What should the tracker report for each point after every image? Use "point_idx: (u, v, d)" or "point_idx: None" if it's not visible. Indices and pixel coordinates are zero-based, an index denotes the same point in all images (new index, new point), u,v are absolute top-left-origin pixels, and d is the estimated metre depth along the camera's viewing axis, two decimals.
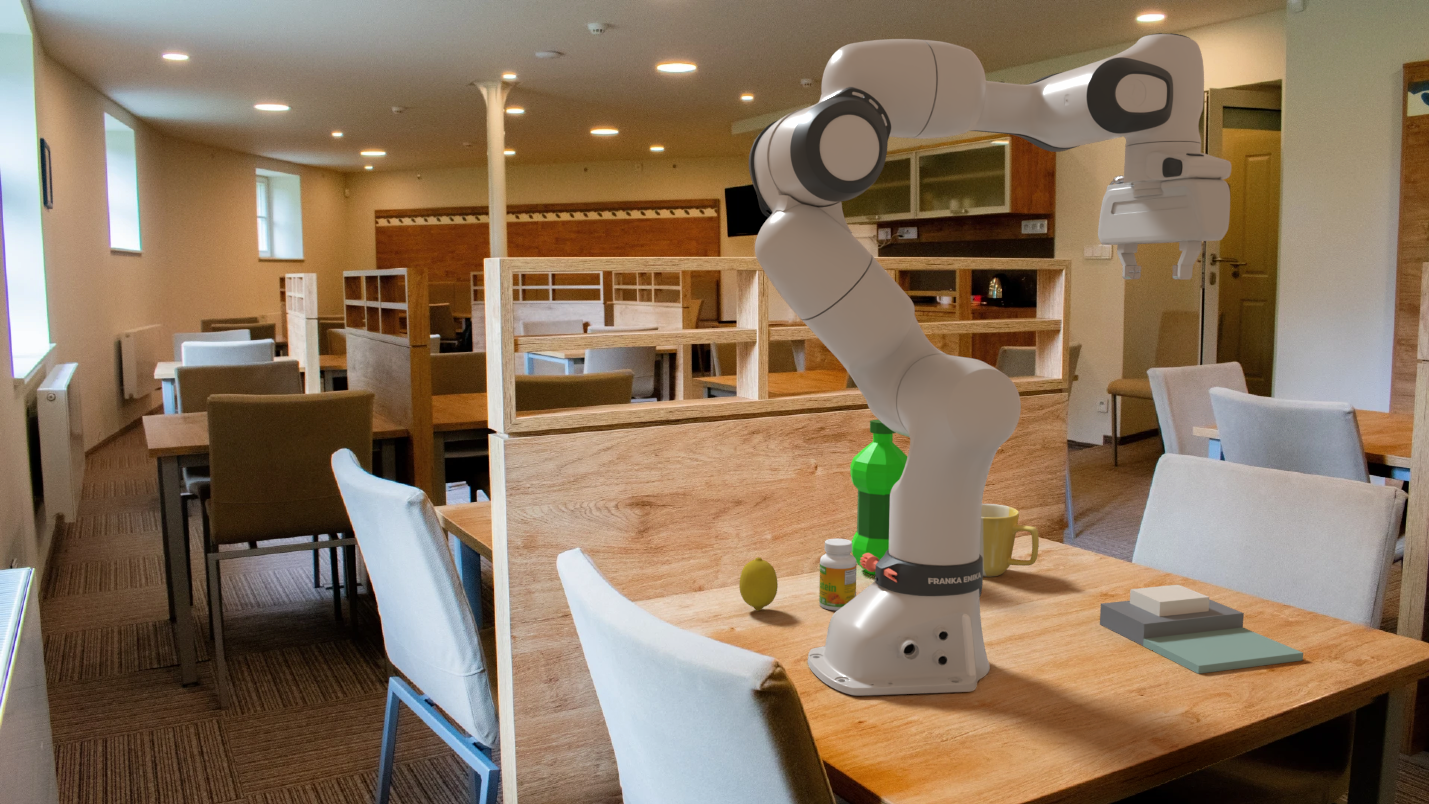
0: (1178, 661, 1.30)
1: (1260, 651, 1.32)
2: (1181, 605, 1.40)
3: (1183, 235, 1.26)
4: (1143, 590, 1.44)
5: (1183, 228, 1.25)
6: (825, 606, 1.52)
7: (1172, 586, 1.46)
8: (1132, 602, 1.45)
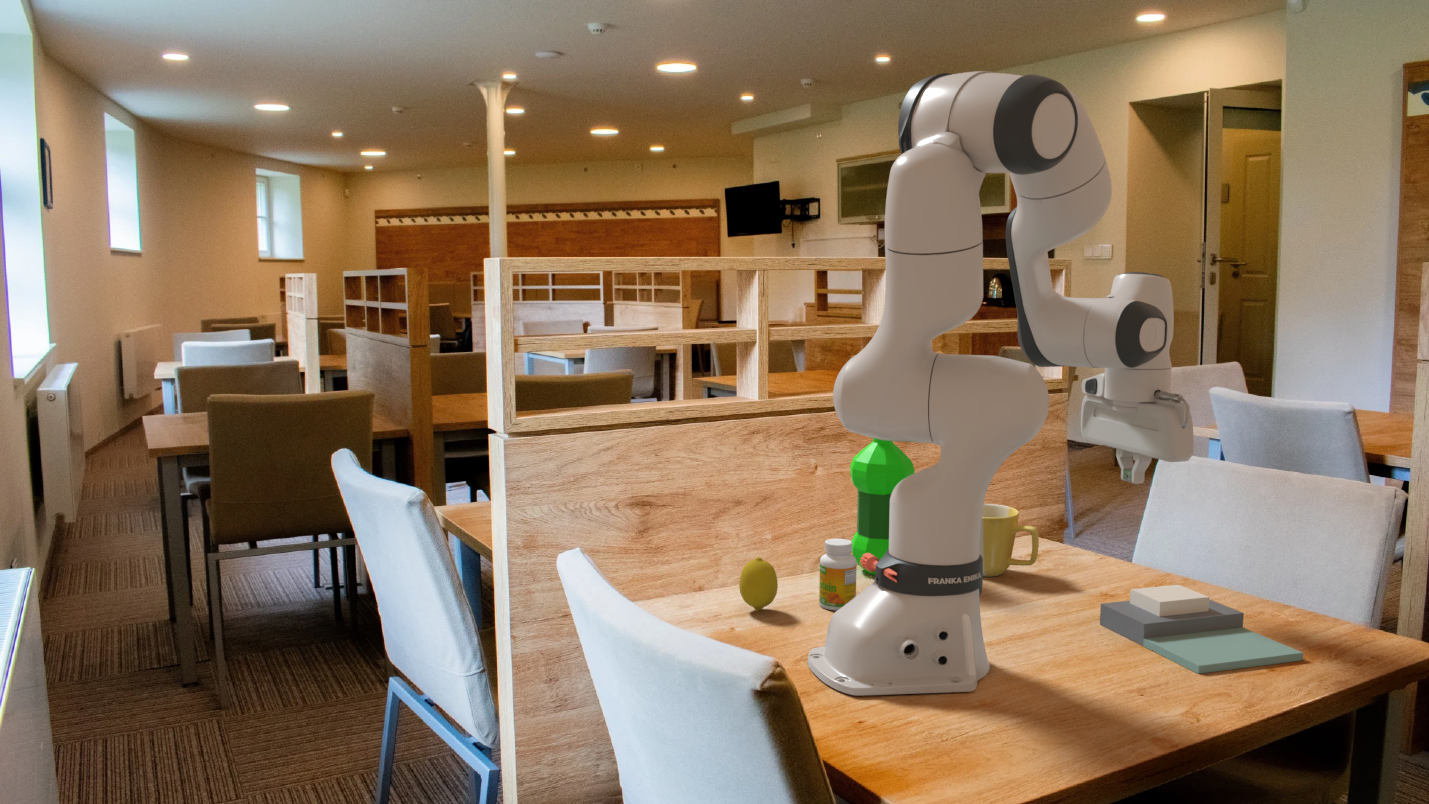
0: (1178, 661, 1.30)
1: (1260, 651, 1.32)
2: (1181, 605, 1.40)
3: None
4: (1143, 590, 1.44)
5: None
6: (825, 606, 1.52)
7: (1172, 586, 1.46)
8: (1132, 602, 1.45)
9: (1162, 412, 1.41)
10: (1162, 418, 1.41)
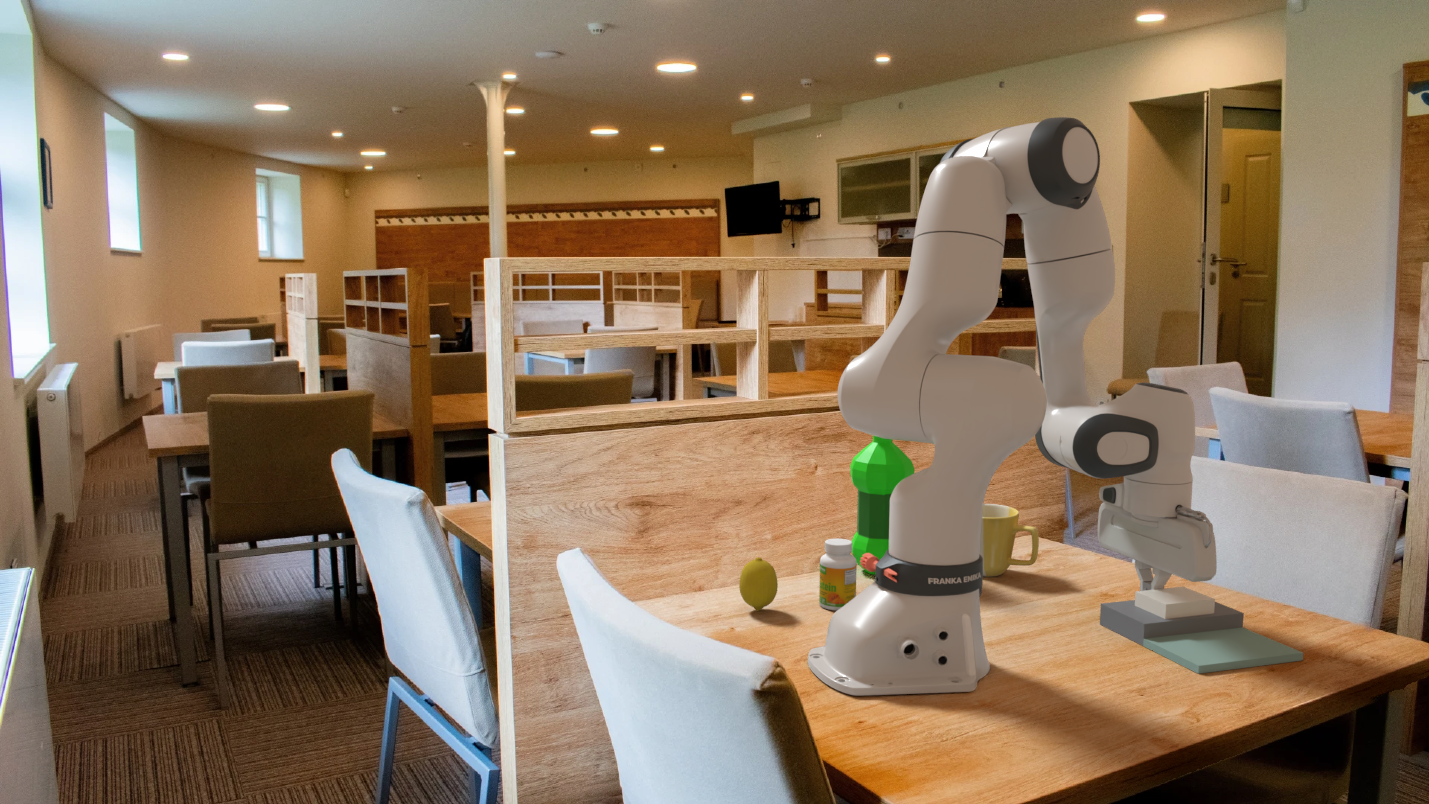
0: (1178, 661, 1.30)
1: (1260, 651, 1.32)
2: (1187, 607, 1.39)
3: None
4: (1148, 592, 1.43)
5: None
6: (825, 606, 1.52)
7: (1177, 588, 1.45)
8: (1137, 604, 1.43)
9: (1185, 530, 1.37)
10: (1184, 536, 1.37)
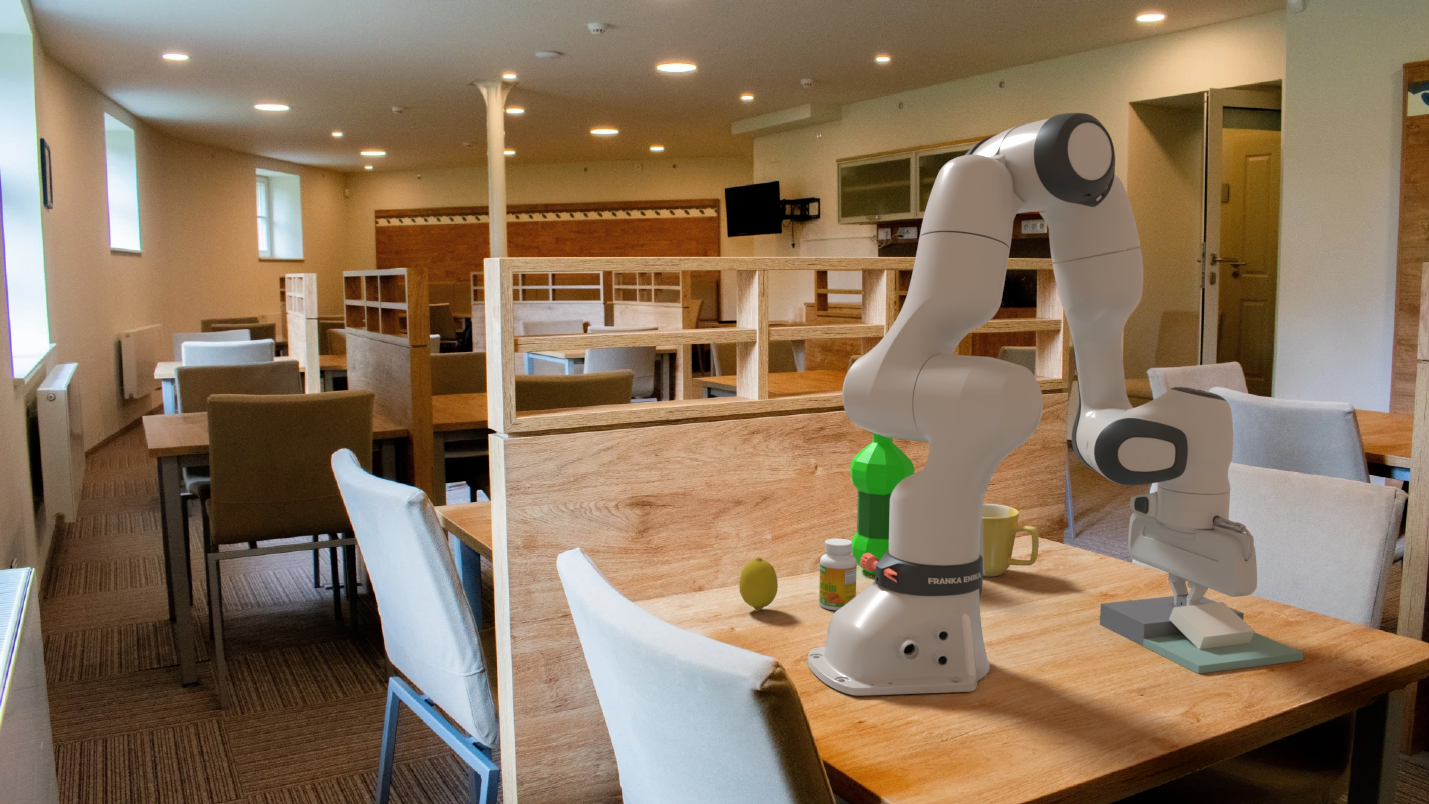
0: (1178, 661, 1.30)
1: (1260, 651, 1.32)
2: (1224, 639, 1.33)
3: None
4: (1187, 611, 1.36)
5: None
6: (825, 606, 1.52)
7: (1217, 605, 1.38)
8: (1172, 620, 1.37)
9: (1223, 543, 1.31)
10: (1223, 549, 1.31)
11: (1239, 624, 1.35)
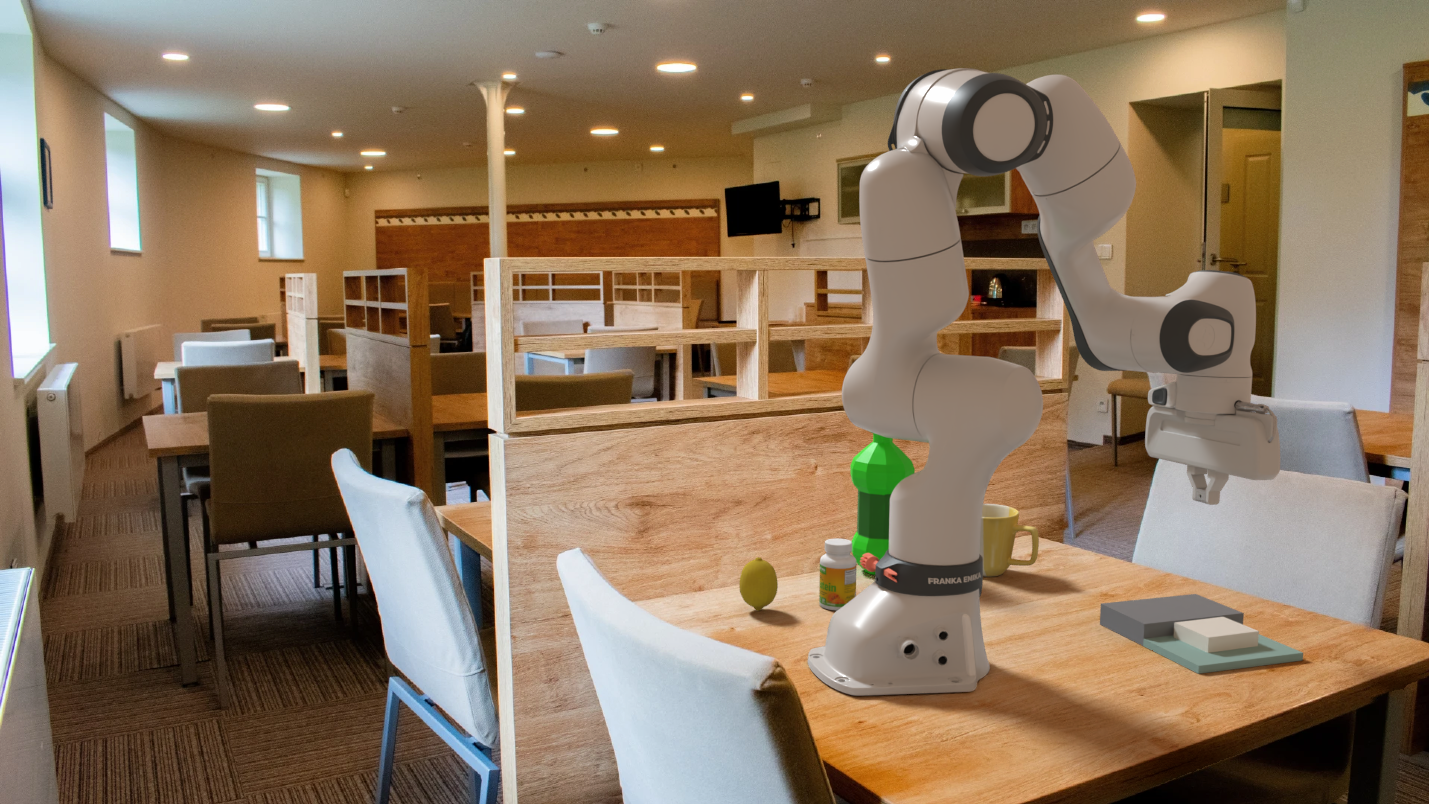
0: (1178, 661, 1.30)
1: (1260, 651, 1.32)
2: (1230, 640, 1.32)
3: None
4: (1188, 623, 1.36)
5: None
6: (825, 606, 1.52)
7: (1217, 619, 1.38)
8: (1176, 636, 1.37)
9: (1245, 425, 1.27)
10: (1245, 431, 1.27)
11: (1242, 628, 1.35)
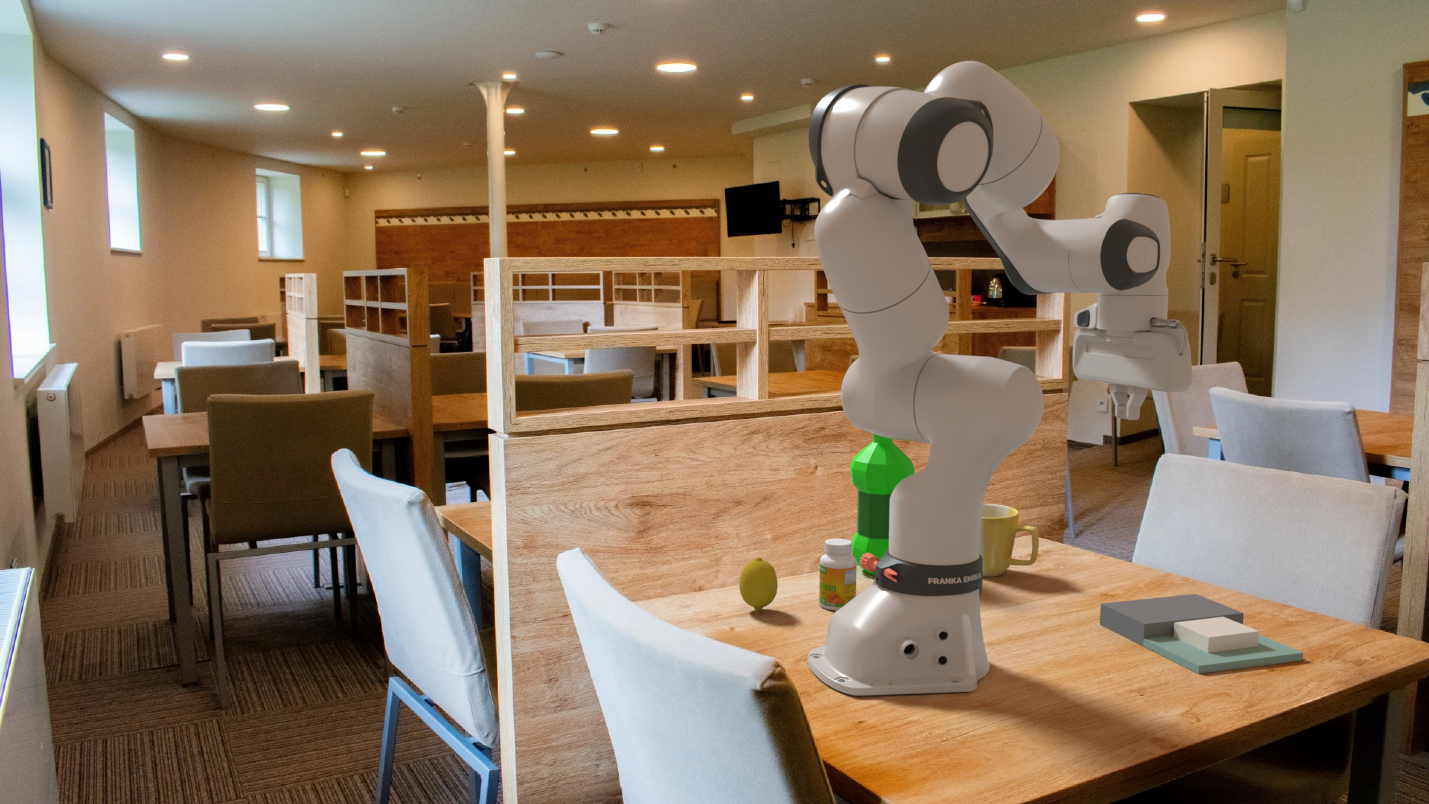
0: (1178, 661, 1.30)
1: (1260, 651, 1.32)
2: (1230, 640, 1.32)
3: None
4: (1188, 623, 1.36)
5: None
6: (825, 606, 1.52)
7: (1217, 619, 1.38)
8: (1176, 636, 1.37)
9: (1159, 339, 1.32)
10: (1158, 345, 1.32)
11: (1242, 628, 1.35)
